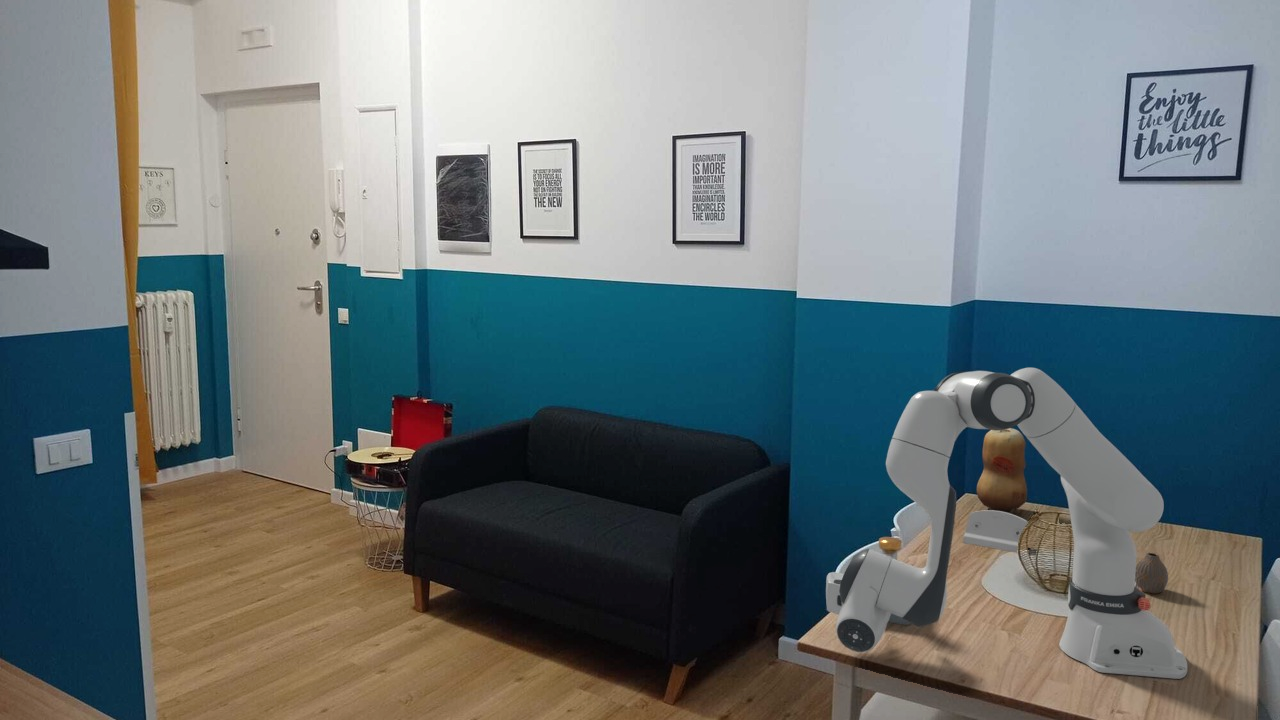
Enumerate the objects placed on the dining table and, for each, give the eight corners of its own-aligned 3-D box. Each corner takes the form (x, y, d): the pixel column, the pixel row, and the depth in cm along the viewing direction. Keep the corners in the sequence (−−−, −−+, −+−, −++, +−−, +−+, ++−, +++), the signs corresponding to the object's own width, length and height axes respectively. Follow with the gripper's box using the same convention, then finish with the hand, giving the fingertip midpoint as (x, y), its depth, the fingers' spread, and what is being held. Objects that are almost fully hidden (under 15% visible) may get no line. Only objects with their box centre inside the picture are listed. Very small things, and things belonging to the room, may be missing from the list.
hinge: (961, 542, 246) (966, 505, 247) (965, 543, 250) (970, 506, 251) (1027, 554, 236) (1031, 516, 238) (1030, 555, 240) (1035, 517, 241)
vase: (1159, 599, 208) (1162, 562, 207) (1128, 589, 213) (1130, 554, 212) (1171, 590, 213) (1174, 554, 211) (1140, 582, 218) (1143, 547, 216)
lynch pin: (900, 608, 205) (902, 538, 202) (897, 617, 200) (899, 545, 198) (878, 605, 207) (880, 535, 204) (874, 613, 202) (877, 542, 200)
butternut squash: (974, 515, 267) (978, 432, 264) (977, 502, 280) (980, 422, 276) (1025, 520, 262) (1030, 436, 258) (1026, 507, 274) (1030, 425, 270)
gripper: (925, 596, 176) (933, 571, 189) (820, 580, 185) (834, 557, 197) (923, 627, 177) (931, 599, 190) (819, 609, 185) (833, 584, 198)
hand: (881, 577), depth 194 cm, fingers open, 8 cm apart
